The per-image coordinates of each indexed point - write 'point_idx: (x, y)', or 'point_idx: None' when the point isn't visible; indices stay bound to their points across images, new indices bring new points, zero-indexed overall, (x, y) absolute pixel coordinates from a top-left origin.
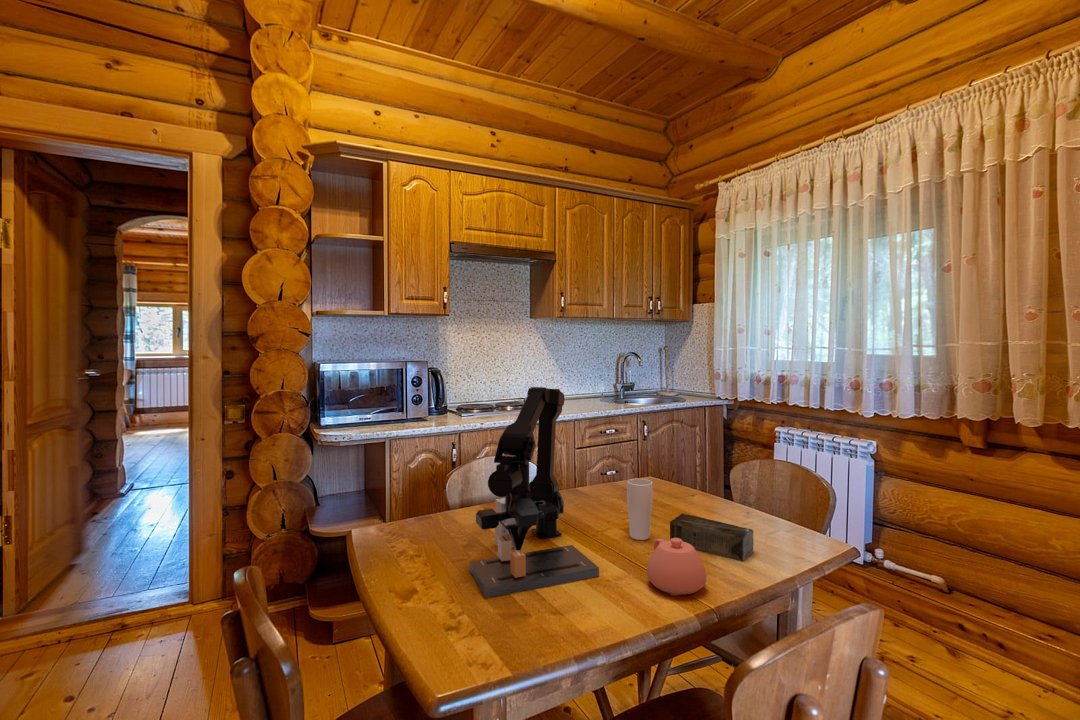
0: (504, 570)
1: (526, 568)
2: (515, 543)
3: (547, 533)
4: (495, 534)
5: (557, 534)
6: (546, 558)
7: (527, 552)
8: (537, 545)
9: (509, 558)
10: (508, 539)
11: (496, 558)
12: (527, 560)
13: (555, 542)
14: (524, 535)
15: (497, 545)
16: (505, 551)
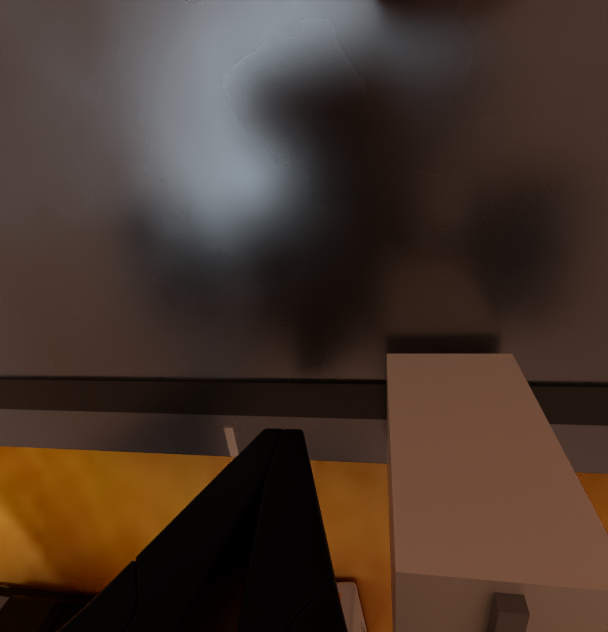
0: (573, 134)
1: (272, 101)
2: (312, 511)
3: (45, 618)
4: None
5: (4, 596)
6: (31, 288)
7: (194, 452)
8: (127, 549)
9: (413, 365)
10: (434, 616)
11: None
12: (220, 311)
13: (23, 541)
14: (108, 609)
15: (365, 625)
16: (488, 427)
